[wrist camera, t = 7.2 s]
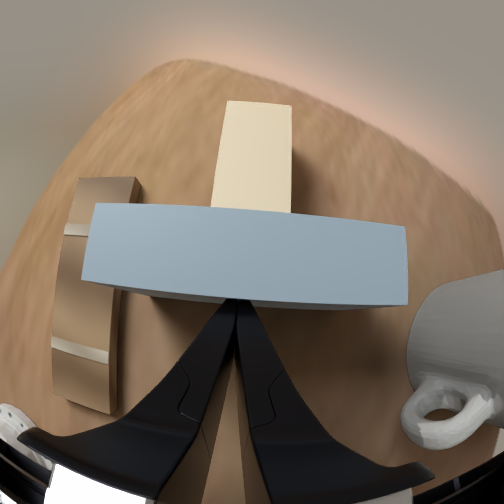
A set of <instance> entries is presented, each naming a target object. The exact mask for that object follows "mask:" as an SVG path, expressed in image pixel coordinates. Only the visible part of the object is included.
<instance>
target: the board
mask: <svg viewBox="0 0 504 504" xmlns="http://www.w3.org/2000/svg"><path fill="white" fill-rule="evenodd" d="M140 186H141V184H140V182H139V181H138V180H137V178H136V177H97V178H79V181H78V184H77V187H76V191H75V194H74V198H73V201H72V205H71V209H70V212H69V216H68V221H67V223H66V226H65V230H64V238H63V243H62V249H61V254H60V260H59V266H58V273H57V280H56V288H55V297H54V309H53V324H52V336H51V347H52V378H53V393H54V394H56V395H58V396H61V397H63V398H65V399H68V400H70V401H73V402H75V403H78V404H81V405H83V406H86V407H89V408H92V409H94V410H97V411H100V412H103V413H106V414H112V413H113V412H115V411H116V410H117V344H118V327H119V313H120V302H121V293H122V290H120V289H116V288H112V287H108V286H103V285H99V284H95V283H91V282H87V281H84V280H81V276H82V269H83V263H84V257H85V251H86V245H87V240H88V235H89V230H90V226H91V221H92V217H93V212H94V208H95V204H96V203H131V204H136V203H137V198H138V194H139V190H140Z"/></svg>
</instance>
